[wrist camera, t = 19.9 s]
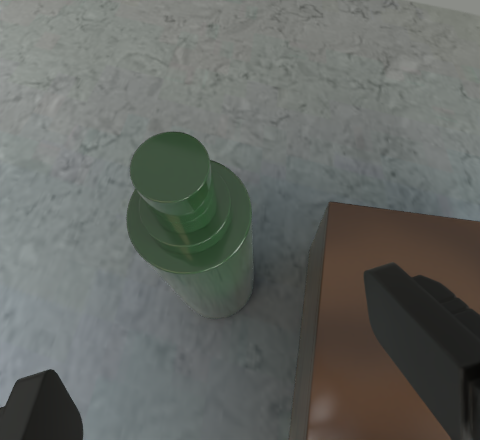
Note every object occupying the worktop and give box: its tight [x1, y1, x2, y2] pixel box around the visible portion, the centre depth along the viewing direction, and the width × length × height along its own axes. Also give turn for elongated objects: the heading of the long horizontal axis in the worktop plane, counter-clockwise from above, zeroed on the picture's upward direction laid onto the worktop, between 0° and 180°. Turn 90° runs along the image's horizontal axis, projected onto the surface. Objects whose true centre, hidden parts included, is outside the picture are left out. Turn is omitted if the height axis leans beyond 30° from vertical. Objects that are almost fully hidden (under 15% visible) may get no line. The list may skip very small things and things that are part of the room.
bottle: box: [126, 132, 254, 319], centre depth 21 cm, size 5×5×17 cm
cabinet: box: [289, 202, 480, 440], centre depth 23 cm, size 15×12×9 cm
